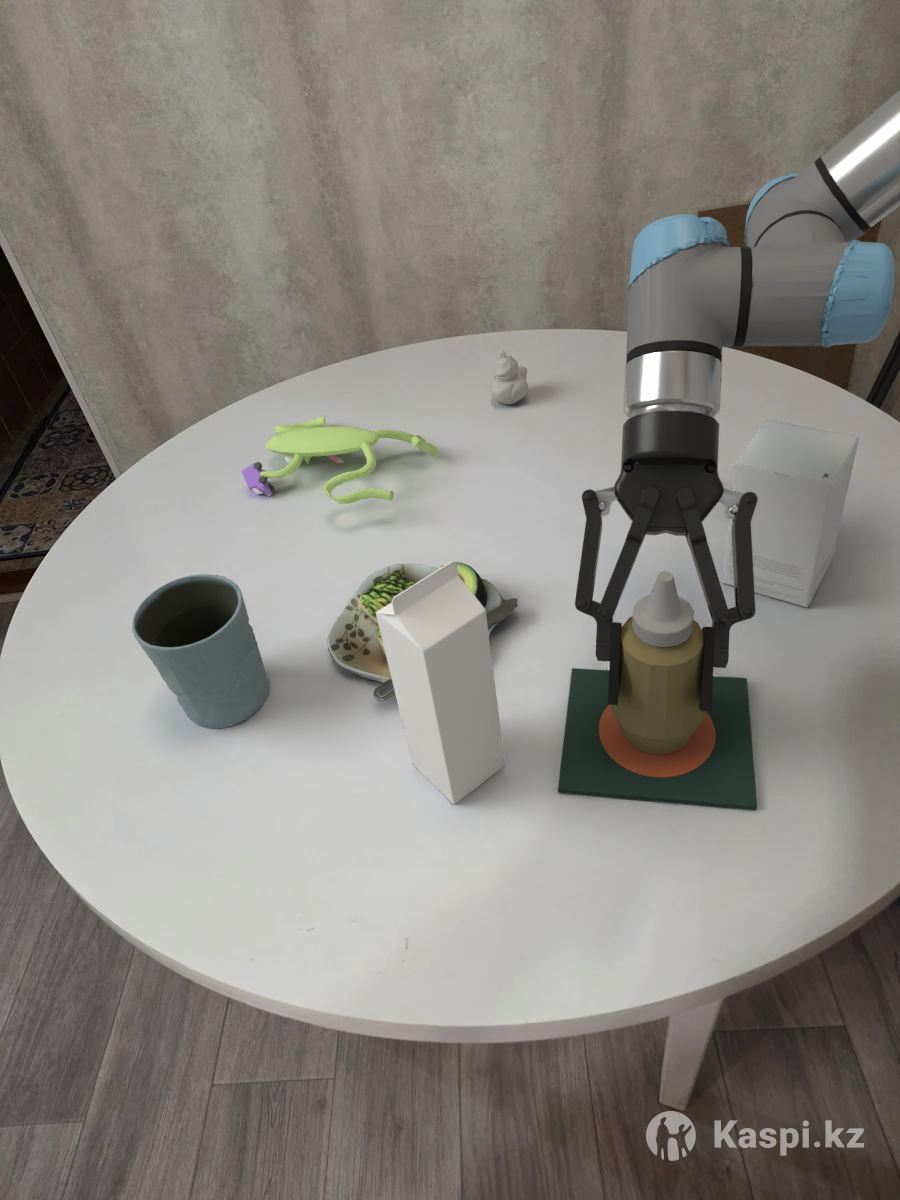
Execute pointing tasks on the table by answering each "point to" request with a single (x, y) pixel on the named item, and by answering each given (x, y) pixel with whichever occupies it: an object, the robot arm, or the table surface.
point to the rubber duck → (508, 380)
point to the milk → (444, 681)
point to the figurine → (327, 455)
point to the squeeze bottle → (660, 671)
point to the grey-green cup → (204, 648)
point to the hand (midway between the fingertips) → (658, 706)
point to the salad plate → (357, 626)
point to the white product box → (793, 506)
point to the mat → (687, 776)
